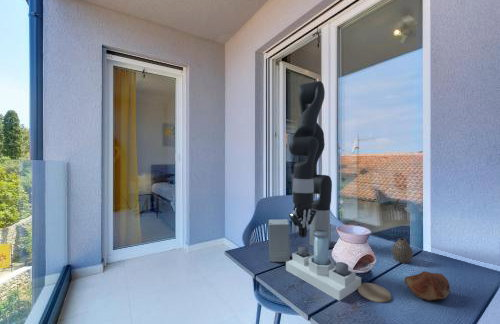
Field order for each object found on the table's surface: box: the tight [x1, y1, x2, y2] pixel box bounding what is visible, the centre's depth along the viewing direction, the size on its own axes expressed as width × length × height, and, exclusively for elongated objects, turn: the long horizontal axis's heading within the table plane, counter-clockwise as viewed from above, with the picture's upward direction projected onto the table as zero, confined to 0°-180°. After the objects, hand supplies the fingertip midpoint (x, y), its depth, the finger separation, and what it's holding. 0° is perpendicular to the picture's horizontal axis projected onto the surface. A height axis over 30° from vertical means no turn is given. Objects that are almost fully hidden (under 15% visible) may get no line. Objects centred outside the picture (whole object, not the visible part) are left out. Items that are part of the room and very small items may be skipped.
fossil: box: [404, 271, 451, 301], centre depth 69 cm, size 13×8×10 cm
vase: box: [391, 238, 414, 264], centre depth 91 cm, size 7×7×9 cm
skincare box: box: [268, 218, 291, 263], centre depth 93 cm, size 8×7×16 cm
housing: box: [285, 251, 362, 302], centre depth 79 cm, size 12×22×6 cm, turn 35°
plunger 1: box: [297, 245, 309, 258], centre depth 85 cm, size 4×4×3 cm
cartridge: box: [313, 230, 329, 266], centre depth 78 cm, size 5×5×13 cm
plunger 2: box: [335, 261, 349, 277], centre depth 72 cm, size 4×4×3 cm
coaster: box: [357, 282, 392, 303], centre depth 70 cm, size 9×9×1 cm
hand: (302, 236), depth 85 cm, fingers closed
